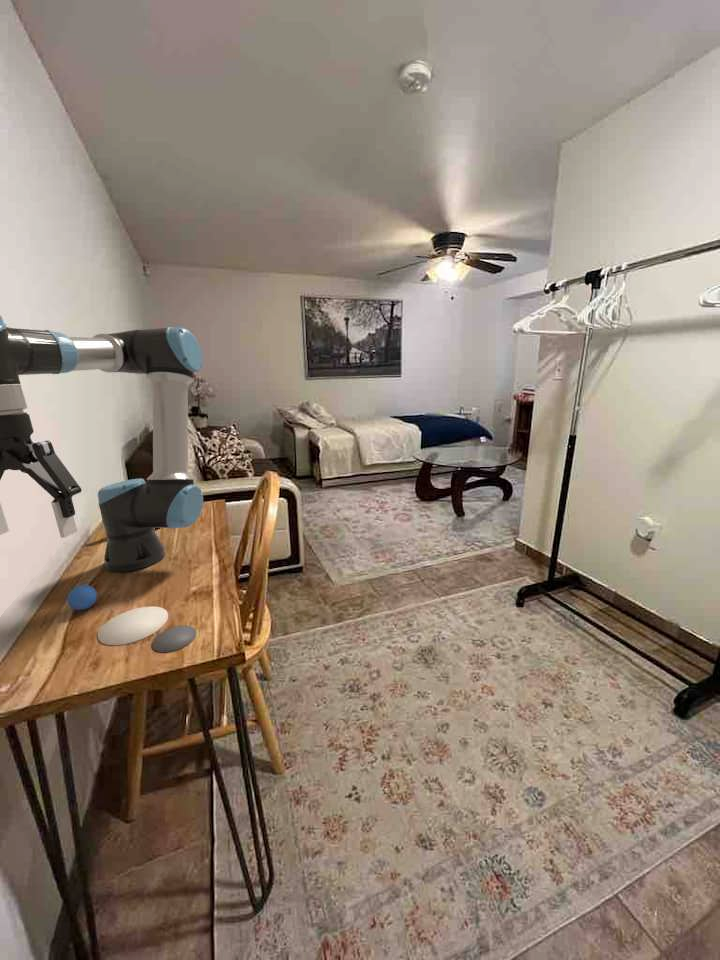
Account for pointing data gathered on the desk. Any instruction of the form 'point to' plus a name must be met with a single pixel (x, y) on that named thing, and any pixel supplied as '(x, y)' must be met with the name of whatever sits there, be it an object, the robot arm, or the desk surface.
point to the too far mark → (174, 638)
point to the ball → (82, 597)
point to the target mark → (132, 625)
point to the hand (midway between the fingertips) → (34, 534)
